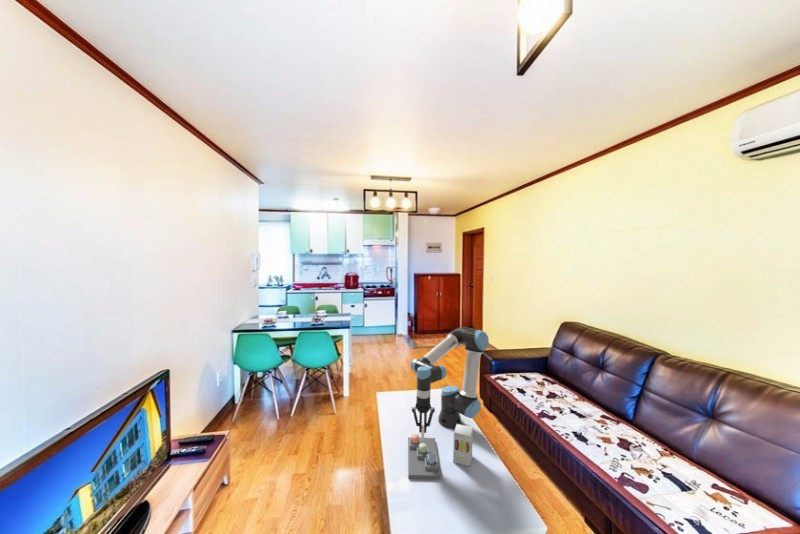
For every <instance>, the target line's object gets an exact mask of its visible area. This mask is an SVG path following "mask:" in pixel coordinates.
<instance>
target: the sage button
mask: <svg viewBox="0 0 800 534" xmlns="http://www.w3.org/2000/svg"><path fill="white" fill-rule="evenodd" d="M419 453H420V454H426V453H427V445H426V444H425V443H420V444H419Z"/></svg>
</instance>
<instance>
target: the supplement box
mask: <svg viewBox="0 0 800 534" xmlns="http://www.w3.org/2000/svg"><path fill="white" fill-rule="evenodd" d="M473 428H474V427H473V426H468V425H465V424H461V425H460V424H457V425H456V428H454V433H453V451H452V452H453V453H452V457H453V458H452V463H455V464H459V465H463V466H466V467H471V465H472V460H473V441H474V440H473V439H474V438H473V437H474V429H473Z"/></svg>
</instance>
